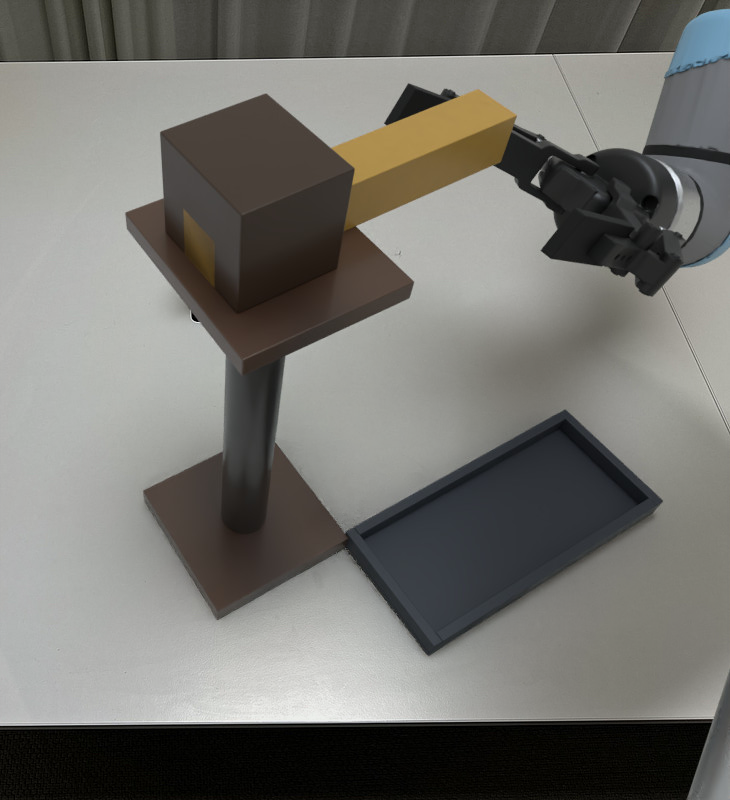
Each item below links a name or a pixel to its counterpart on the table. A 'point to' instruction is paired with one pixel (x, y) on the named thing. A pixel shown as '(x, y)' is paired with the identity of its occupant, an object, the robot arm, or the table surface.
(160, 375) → the table surface
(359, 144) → the mallet
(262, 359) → the pedestal stand
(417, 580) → the tray
